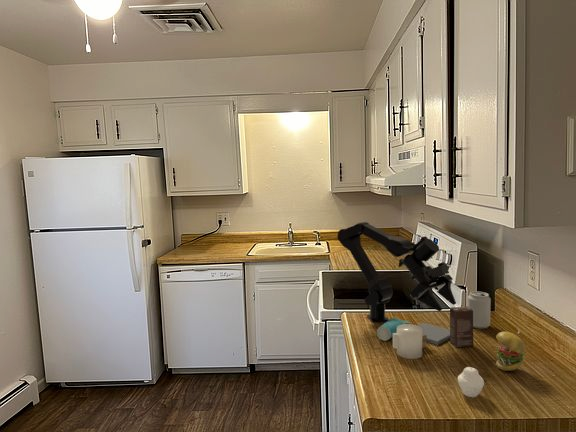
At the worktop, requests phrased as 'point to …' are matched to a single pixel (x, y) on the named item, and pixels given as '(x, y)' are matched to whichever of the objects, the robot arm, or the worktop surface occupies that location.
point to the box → (461, 326)
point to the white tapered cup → (408, 341)
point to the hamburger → (509, 351)
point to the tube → (389, 328)
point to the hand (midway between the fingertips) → (448, 307)
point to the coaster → (435, 333)
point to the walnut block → (424, 340)
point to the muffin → (470, 382)
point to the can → (480, 309)
